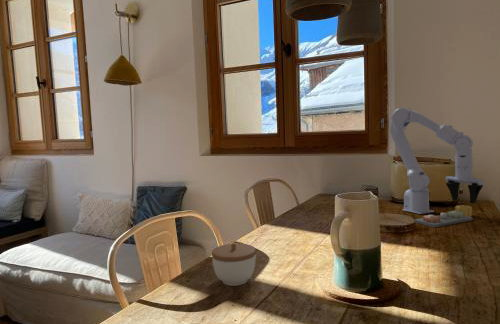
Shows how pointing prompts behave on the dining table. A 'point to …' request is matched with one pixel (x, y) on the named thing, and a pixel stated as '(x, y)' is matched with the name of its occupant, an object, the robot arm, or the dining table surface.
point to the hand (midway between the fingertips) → (463, 201)
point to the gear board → (443, 219)
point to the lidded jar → (234, 263)
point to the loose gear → (464, 210)
